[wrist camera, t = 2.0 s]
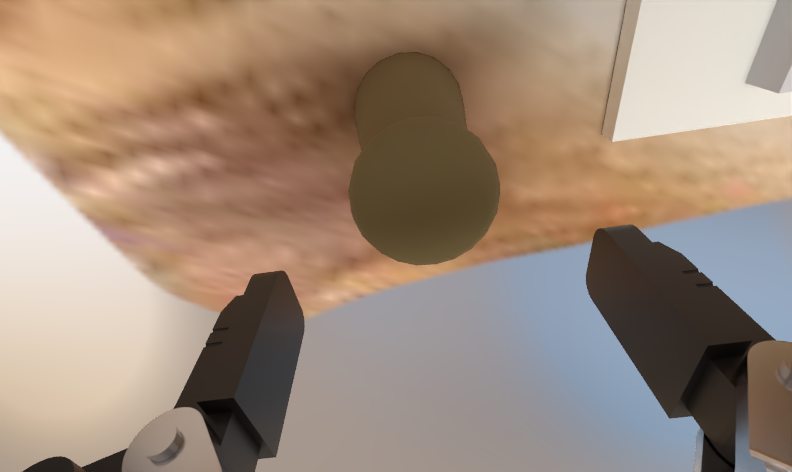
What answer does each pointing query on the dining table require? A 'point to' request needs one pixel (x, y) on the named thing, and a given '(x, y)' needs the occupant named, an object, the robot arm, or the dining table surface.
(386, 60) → the olive tall rounded piece
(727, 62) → the board
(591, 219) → the dining table surface
